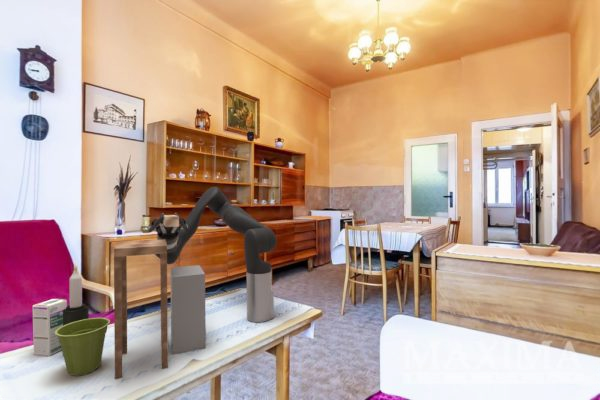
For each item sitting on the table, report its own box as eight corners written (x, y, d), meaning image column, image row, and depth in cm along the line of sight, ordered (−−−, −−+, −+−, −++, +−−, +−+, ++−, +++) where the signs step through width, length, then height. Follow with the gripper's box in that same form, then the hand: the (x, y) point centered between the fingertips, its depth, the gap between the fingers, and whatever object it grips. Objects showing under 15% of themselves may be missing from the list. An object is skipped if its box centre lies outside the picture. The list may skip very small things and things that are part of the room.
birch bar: (173, 223, 113) (173, 214, 113) (179, 226, 92) (178, 216, 92) (163, 223, 112) (162, 215, 112) (165, 227, 90) (165, 216, 90)
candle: (90, 349, 92) (90, 265, 92) (72, 357, 87) (71, 268, 87) (80, 346, 94) (79, 263, 94) (61, 354, 89) (60, 267, 89)
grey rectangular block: (199, 330, 105) (199, 265, 105) (205, 348, 92) (205, 273, 92) (171, 335, 101) (170, 267, 101) (172, 354, 88) (172, 277, 88)
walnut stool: (166, 343, 95) (165, 239, 95) (167, 367, 81) (166, 245, 81) (121, 352, 90) (120, 241, 90) (114, 379, 76) (113, 248, 76)
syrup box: (49, 356, 88) (49, 305, 88) (32, 354, 89) (32, 304, 89) (68, 347, 93) (67, 299, 93) (52, 345, 95) (51, 298, 95)
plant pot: (96, 353, 89) (95, 314, 89) (119, 364, 83) (119, 322, 83) (46, 373, 79) (45, 329, 79) (68, 387, 73) (68, 339, 73)
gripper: (147, 228, 118) (146, 206, 104) (186, 226, 124) (190, 205, 110) (147, 246, 114) (146, 226, 101) (188, 244, 120) (192, 224, 107)
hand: (169, 215), depth 106 cm, fingers closed on birch bar, 3 cm apart
